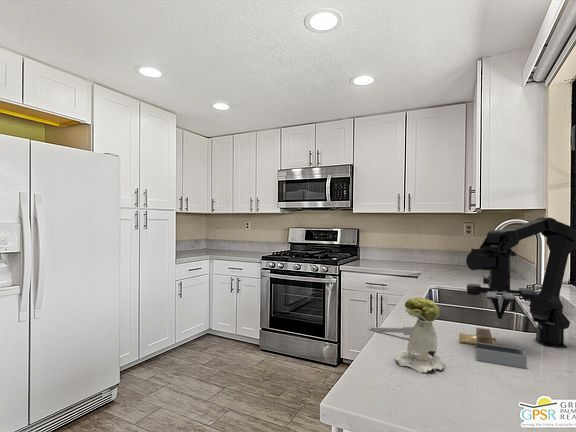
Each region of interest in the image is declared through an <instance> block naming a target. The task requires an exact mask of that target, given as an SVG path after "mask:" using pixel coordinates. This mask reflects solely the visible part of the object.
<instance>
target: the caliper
mask: <svg viewBox="0 0 576 432" xmlns="http://www.w3.org/2000/svg"><path fill="white" fill-rule="evenodd" d="M413 327H414V326H403V327H387V326H386V327H377V326H376V327H374V326H373V327H370V328H367V331H371V332H373V333H374V332H375V333H400V334H401V333H403V335H404V336H406V335H407V336H410V334H411V331H412V329H413ZM377 330H378V331H377Z"/></svg>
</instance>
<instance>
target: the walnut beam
mask: <svg viewBox="0 0 576 432" xmlns="http://www.w3.org/2000/svg"><path fill="white" fill-rule="evenodd" d="M475 329H476V330H475V335H476V336H477V342H480V343H487V344H492V342H493V338H494V337H493V335H492V332H491V329H489V328H488V329H487V328H481V327H476V328H475Z"/></svg>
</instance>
